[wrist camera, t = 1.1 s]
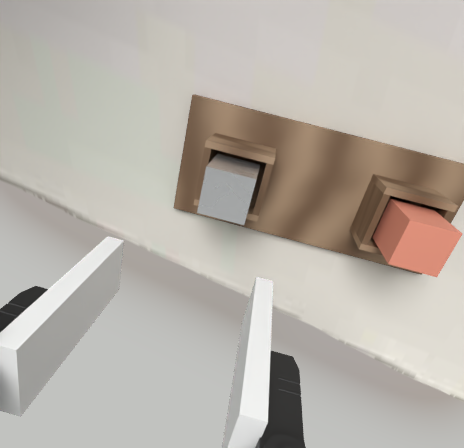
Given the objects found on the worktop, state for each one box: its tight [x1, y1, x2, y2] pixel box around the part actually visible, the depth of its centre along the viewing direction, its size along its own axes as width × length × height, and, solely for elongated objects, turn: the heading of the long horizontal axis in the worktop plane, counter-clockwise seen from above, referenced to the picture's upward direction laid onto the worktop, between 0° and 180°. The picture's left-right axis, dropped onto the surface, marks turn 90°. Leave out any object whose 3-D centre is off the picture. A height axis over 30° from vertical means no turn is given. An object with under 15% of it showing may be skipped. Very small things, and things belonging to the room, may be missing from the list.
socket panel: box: [174, 95, 464, 275], centre depth 32 cm, size 28×12×6 cm, turn 77°
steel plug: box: [197, 154, 260, 225], centre depth 28 cm, size 4×4×5 cm
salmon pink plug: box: [373, 199, 462, 277], centre depth 28 cm, size 4×4×5 cm
